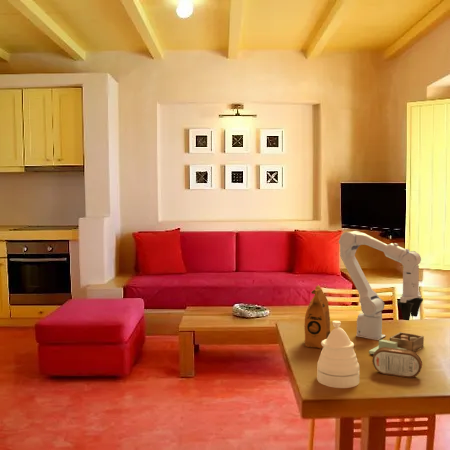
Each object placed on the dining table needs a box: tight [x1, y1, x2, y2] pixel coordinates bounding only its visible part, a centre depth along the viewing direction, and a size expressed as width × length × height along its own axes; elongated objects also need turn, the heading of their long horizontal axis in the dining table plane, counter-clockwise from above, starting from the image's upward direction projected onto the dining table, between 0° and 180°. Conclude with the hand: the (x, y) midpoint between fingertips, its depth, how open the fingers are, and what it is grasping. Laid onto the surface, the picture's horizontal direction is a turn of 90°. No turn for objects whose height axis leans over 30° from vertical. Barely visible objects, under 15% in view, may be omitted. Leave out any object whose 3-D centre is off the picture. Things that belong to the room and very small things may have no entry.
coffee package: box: [303, 284, 331, 349], centre depth 194 cm, size 10×12×22 cm
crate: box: [389, 331, 425, 353], centre depth 189 cm, size 9×10×4 cm
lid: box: [368, 338, 407, 355], centre depth 182 cm, size 10×11×5 cm
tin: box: [371, 347, 423, 379], centre depth 160 cm, size 15×3×8 cm, turn 64°
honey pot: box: [316, 320, 360, 389], centre depth 156 cm, size 13×13×18 cm
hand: (410, 318), depth 194 cm, fingers open, 7 cm apart
